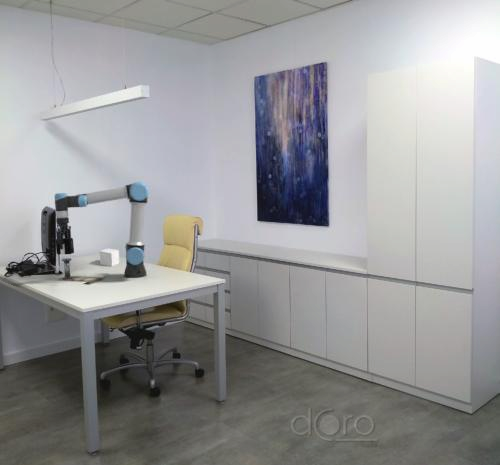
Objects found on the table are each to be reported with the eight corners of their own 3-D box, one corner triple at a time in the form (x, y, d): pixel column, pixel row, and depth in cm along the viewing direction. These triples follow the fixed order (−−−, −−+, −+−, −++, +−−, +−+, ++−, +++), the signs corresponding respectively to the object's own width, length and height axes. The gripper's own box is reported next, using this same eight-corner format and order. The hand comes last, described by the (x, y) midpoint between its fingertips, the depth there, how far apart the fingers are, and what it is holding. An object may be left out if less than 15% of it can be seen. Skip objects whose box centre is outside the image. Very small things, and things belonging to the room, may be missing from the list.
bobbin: (74, 277, 361) (73, 258, 359) (68, 279, 355) (67, 259, 354) (66, 277, 363) (65, 258, 361) (61, 279, 357) (59, 259, 355)
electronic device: (70, 254, 344) (69, 238, 343) (56, 254, 346) (55, 239, 345) (74, 253, 348) (72, 237, 347) (60, 253, 350) (58, 238, 349)
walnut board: (103, 279, 360) (102, 277, 360) (90, 284, 346) (90, 281, 346) (68, 278, 368) (67, 275, 367) (54, 282, 353) (54, 279, 353)
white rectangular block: (117, 260, 440) (116, 247, 438) (121, 265, 413) (121, 252, 411) (98, 261, 435) (98, 248, 433) (102, 267, 408) (101, 253, 406)
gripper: (65, 216, 354) (68, 251, 356) (48, 218, 337) (51, 255, 340) (75, 215, 352) (78, 251, 354) (59, 218, 335) (62, 255, 338)
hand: (65, 253), depth 347 cm, fingers closed on electronic device, 4 cm apart
